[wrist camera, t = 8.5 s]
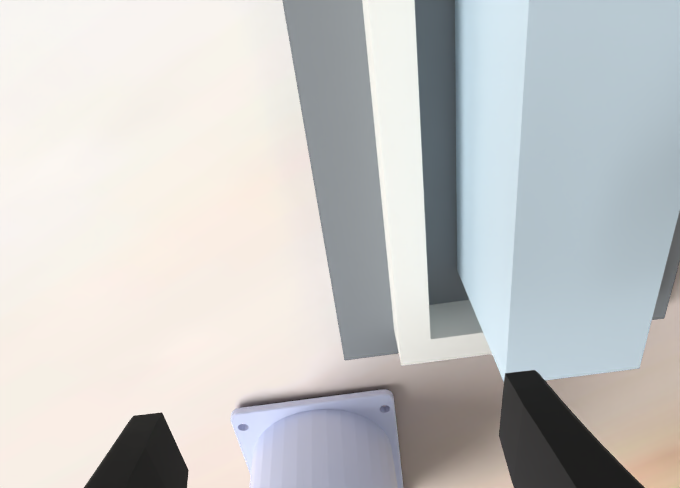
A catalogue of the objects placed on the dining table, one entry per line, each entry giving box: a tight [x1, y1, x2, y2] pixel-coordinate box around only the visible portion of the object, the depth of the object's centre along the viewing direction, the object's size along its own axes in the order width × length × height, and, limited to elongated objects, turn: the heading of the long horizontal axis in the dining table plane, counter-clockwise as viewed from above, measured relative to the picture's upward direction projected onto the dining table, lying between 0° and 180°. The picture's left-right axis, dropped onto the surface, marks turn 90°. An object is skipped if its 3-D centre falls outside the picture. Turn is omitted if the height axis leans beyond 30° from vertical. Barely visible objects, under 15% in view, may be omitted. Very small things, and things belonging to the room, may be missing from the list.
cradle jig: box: [283, 0, 680, 366], centre depth 17 cm, size 20×14×3 cm
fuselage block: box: [455, 0, 680, 381], centre depth 15 cm, size 12×4×6 cm, turn 7°
